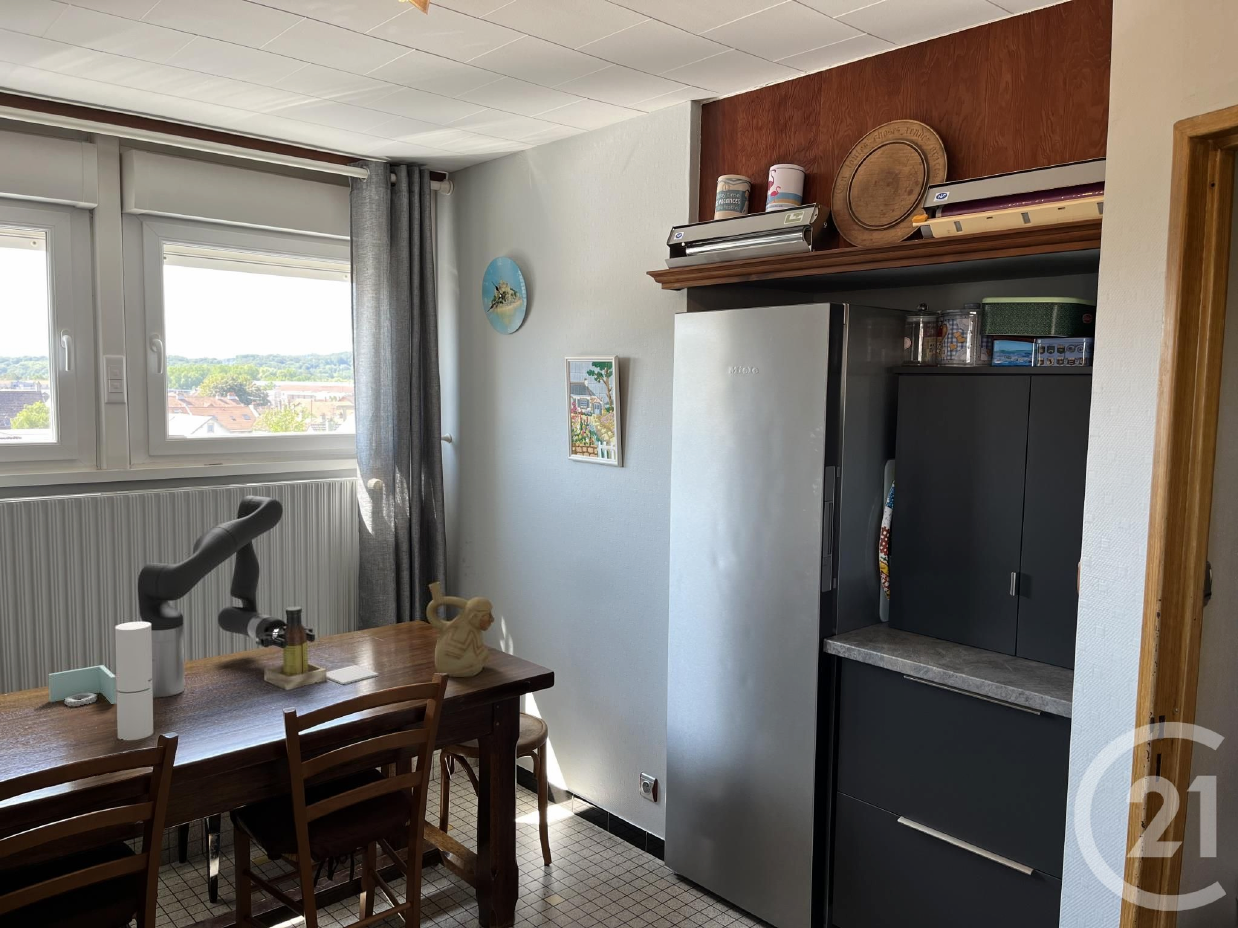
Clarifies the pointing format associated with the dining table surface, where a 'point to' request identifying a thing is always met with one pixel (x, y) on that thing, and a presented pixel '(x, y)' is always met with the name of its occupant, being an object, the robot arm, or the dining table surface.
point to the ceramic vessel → (460, 634)
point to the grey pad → (350, 674)
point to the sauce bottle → (295, 644)
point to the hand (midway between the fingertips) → (299, 641)
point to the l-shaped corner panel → (82, 685)
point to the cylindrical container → (134, 680)
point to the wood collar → (279, 679)
